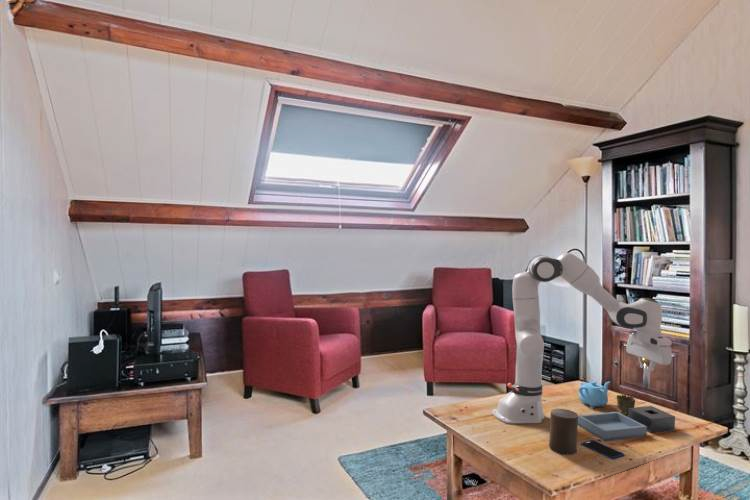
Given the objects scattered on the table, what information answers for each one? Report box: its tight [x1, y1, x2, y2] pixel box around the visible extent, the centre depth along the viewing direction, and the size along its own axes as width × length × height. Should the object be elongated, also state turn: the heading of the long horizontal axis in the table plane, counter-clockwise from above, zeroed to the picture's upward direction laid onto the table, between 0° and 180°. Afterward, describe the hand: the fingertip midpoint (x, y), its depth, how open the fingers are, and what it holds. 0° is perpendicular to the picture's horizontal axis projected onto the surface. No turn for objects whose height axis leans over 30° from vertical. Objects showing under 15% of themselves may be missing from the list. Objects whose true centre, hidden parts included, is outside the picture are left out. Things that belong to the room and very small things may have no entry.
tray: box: [578, 411, 648, 442], centre depth 193 cm, size 20×16×4 cm
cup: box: [616, 394, 636, 417], centre depth 210 cm, size 8×7×8 cm
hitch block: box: [627, 405, 676, 434], centre depth 198 cm, size 12×12×6 cm
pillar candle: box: [548, 408, 579, 455], centre depth 176 cm, size 10×10×15 cm
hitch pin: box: [642, 358, 651, 389], centre depth 197 cm, size 4×4×12 cm
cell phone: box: [580, 439, 625, 460], centre depth 176 cm, size 7×14×1 cm, turn 28°
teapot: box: [578, 381, 611, 409], centre depth 223 cm, size 13×14×11 cm
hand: (646, 369), depth 197 cm, fingers closed on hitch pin, 2 cm apart
